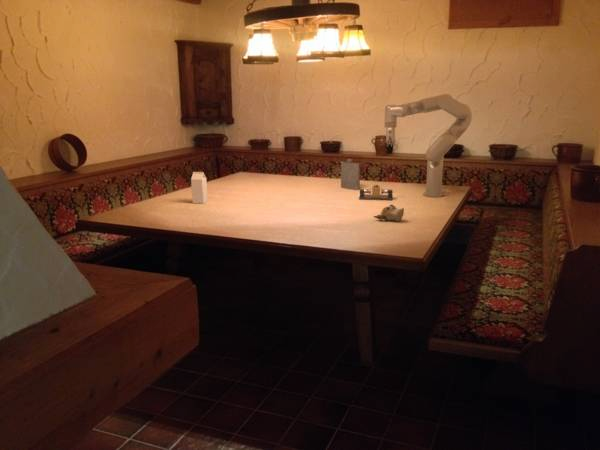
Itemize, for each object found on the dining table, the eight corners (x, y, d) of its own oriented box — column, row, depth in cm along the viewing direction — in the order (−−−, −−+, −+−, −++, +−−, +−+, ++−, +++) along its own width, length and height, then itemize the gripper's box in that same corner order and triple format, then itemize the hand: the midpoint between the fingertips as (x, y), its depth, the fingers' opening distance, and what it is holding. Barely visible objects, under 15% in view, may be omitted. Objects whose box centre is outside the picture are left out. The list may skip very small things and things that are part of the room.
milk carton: (203, 203, 323) (201, 173, 318) (192, 203, 324) (190, 172, 320) (207, 201, 330) (205, 171, 325) (197, 201, 331) (195, 170, 326)
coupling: (379, 195, 329) (380, 184, 327) (379, 196, 325) (379, 186, 323) (372, 195, 330) (372, 184, 328) (372, 196, 326) (372, 185, 324)
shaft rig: (392, 197, 330) (392, 187, 328) (392, 200, 321) (392, 190, 320) (360, 196, 334) (360, 187, 332) (359, 199, 326) (359, 189, 324)
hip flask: (360, 189, 356) (360, 159, 351) (356, 190, 353) (356, 160, 348) (343, 186, 367) (343, 157, 362) (339, 187, 365) (339, 158, 359)
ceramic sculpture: (399, 207, 266) (372, 205, 274) (400, 223, 268) (373, 222, 276) (407, 203, 275) (381, 202, 283) (408, 219, 277) (381, 217, 285)
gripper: (396, 126, 323) (395, 154, 328) (397, 123, 339) (396, 150, 344) (383, 126, 325) (383, 154, 329) (385, 124, 341) (384, 150, 345)
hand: (389, 152), depth 336 cm, fingers open, 9 cm apart
